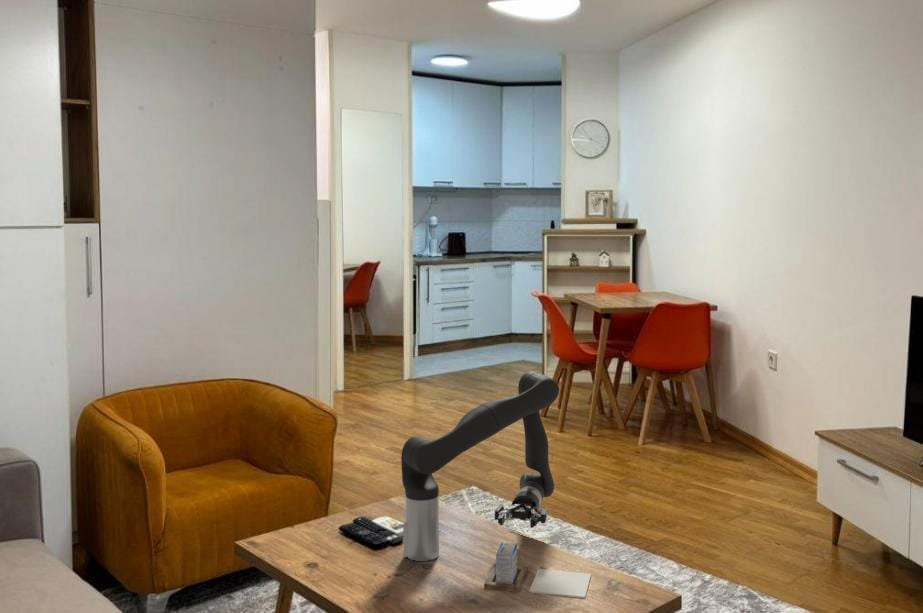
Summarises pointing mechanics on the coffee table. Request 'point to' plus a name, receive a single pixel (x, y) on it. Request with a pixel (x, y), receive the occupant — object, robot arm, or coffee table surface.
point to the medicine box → (506, 563)
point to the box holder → (503, 586)
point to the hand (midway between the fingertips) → (516, 523)
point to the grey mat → (560, 583)
